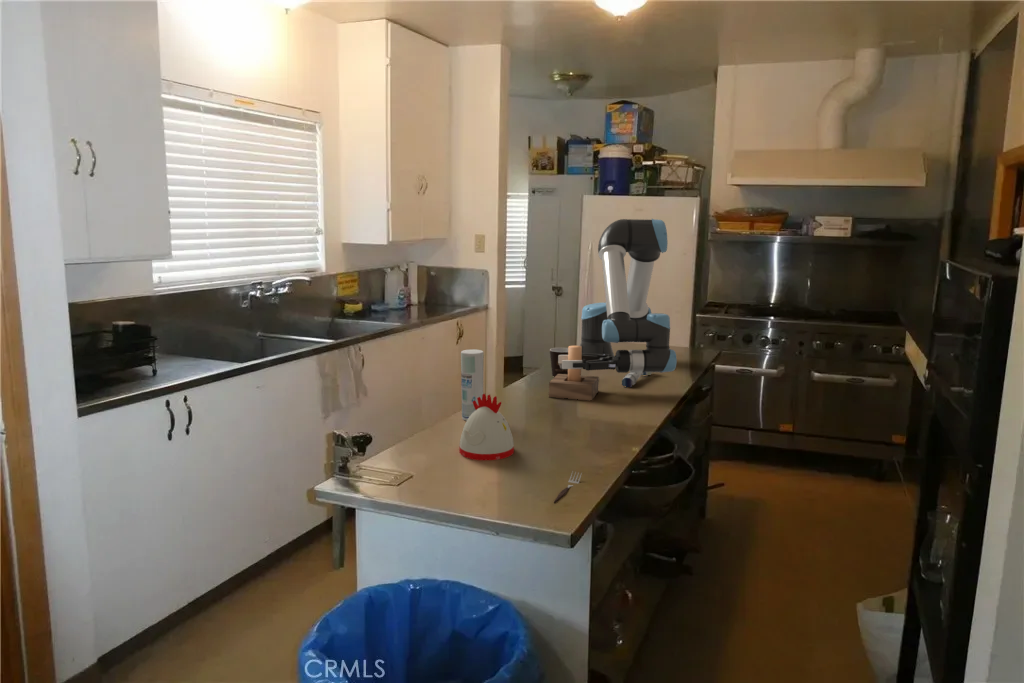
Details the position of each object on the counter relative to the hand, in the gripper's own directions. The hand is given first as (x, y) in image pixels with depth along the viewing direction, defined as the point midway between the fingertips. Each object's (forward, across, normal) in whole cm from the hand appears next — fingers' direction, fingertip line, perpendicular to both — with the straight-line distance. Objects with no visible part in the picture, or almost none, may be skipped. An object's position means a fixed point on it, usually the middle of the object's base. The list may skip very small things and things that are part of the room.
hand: (560, 361), depth 246 cm
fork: (+10, -84, -12) cm, 85 cm away
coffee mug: (-5, +25, -11) cm, 28 cm away
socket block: (-5, 0, -11) cm, 12 cm away
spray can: (+29, -26, -11) cm, 41 cm away
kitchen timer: (+26, -56, -11) cm, 63 cm away
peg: (-5, 0, -11) cm, 12 cm away
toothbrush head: (-31, +19, -12) cm, 38 cm away
